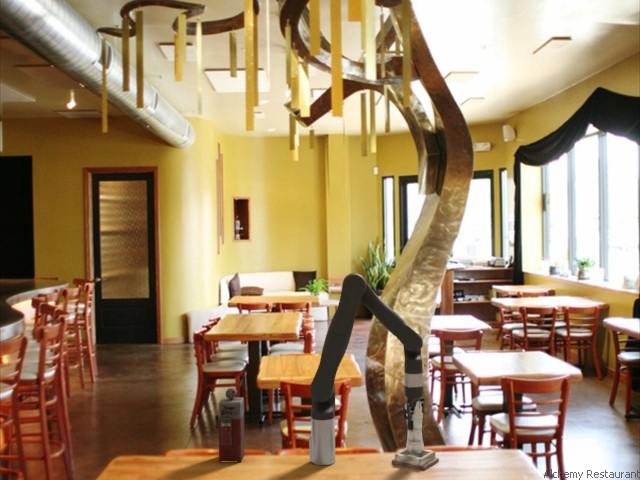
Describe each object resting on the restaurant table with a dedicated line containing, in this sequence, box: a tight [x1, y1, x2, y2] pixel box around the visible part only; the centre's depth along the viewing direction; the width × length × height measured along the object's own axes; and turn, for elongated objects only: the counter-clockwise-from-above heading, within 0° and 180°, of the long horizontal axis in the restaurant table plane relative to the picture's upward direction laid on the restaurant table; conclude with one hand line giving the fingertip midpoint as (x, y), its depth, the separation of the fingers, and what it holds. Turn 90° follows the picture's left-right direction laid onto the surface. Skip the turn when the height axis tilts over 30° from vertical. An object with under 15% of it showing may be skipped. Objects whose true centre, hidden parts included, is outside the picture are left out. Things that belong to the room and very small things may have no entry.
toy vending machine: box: [217, 387, 245, 462], centre depth 251 cm, size 9×11×28 cm
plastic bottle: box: [405, 400, 425, 453], centre depth 244 cm, size 6×7×20 cm
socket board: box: [391, 447, 440, 471], centre depth 244 cm, size 14×12×4 cm
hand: (414, 427), depth 244 cm, fingers closed on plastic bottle, 6 cm apart
